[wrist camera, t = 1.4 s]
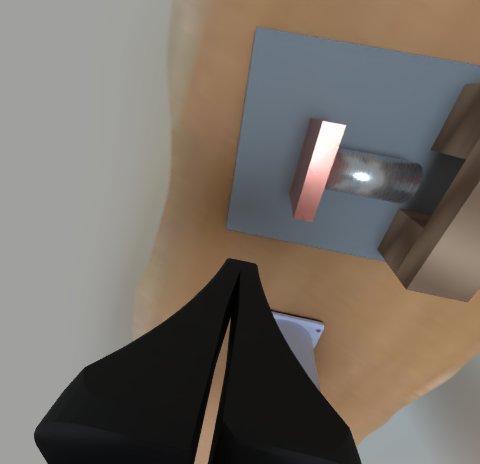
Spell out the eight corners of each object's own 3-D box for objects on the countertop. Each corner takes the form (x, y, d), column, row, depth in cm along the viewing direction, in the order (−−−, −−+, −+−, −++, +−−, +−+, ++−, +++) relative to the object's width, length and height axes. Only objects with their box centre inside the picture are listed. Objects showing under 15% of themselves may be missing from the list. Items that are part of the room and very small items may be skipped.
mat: (448, 271, 21) (453, 275, 20) (227, 226, 21) (225, 229, 21) (587, 86, 14) (600, 86, 13) (256, 29, 15) (256, 26, 14)
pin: (289, 194, 19) (293, 218, 15) (310, 117, 16) (323, 120, 12) (379, 212, 18) (408, 241, 14) (417, 137, 16) (465, 147, 12)
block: (424, 259, 20) (467, 302, 15) (377, 249, 20) (406, 289, 16) (533, 96, 14) (651, 91, 10) (465, 84, 14) (551, 74, 10)
